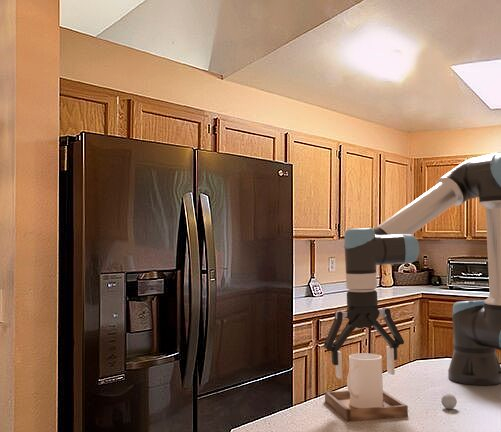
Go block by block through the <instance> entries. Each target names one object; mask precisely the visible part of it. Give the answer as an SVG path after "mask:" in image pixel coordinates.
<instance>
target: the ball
mask: <svg viewBox="0 0 501 432" xmlns="http://www.w3.org/2000/svg"><path fill="white" fill-rule="evenodd" d="M457 402H458V401H457V398H456V396H455V395H454V394H451V393H445V394H444V395H442V397H441V404H442V406H443V407H444V408H445V409H447V410H452V409H454V408H455V407H456V406H457Z"/></svg>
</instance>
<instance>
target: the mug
mask: <svg viewBox="0 0 501 432" xmlns="http://www.w3.org/2000/svg"><path fill="white" fill-rule="evenodd" d="M348 363H349V366H348V367H349V370H348V374H347V378H346V386H347V390H348V391H349V393H350V401H349V404H350V406H352V407H354V408H358V409H360V408H373V407H383V406H384V402H383V391H384V390H383V389H384V387H383V356H382V355H380V354H378V353H377V354H376V353H372V352H371V353H367V352H363V353H362V352H361V353H360V352H359V353H353V354H349V357H348Z"/></svg>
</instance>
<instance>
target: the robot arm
mask: <svg viewBox="0 0 501 432" xmlns="http://www.w3.org/2000/svg"><path fill="white" fill-rule="evenodd" d="M476 198H478V200H479V201H478V202H479V204H480V205H481V206H482V207H483V208H484V209H485V223H486V224H485V225H486V226H485V227H486V244H487V245H486V246H487V269H488V286H489V288H488V289H489V291H488V292H489V295H488V297H487V298H486V299H482V300H481V299H480V300H479V299H478V300H465V301H464V300H463V301H456V302H454V304H453V306H452V313H451V317H452V335H453V353H452V357H451V359H450V363H449V368H448V370H447V372H448V374H447V375H448V379H449V380H450V381H453V382H454V383H460V384H464V385H472V386H492V385H498V384H501V364H500V361H499V358H498V356H497V350H499V351H501V151H498V152H495V153H490V154H485V155H484V154H483V155H480V156H475V157H472V158H468V159H467V160H465V161H463V162H461V163H460V164H458V165H457V166H456V167H454V168H453V169H451V170H450V171H448V172H447V173H445V174H444V175H442V176H440V177H439V179H438V180H437V181H436V184H435V185H434V186H433V187H431V188H430V189H428V190H427V191H426V192H424V193H423V194H421V195H420V196H419V197H417V198H415V199H414V200H413V201H412V202H410V203H408V204H407V205H406V206H404V207H402V208H401V209H400V210H398V211H397V212H396V213H394V214H392V215H391V216H389V218H386V220H384V221H382V222H381V223H380V224H378V225H376V227H373V228H372V227H365V228H364V227H363V228H348V229H346V230H345V232H344V245H343V248H344V259H345V260H344V261H345V278H346V279H345V282H346V284H345V286H346V289H347V291H346V305H347V306H346V307H347V308H346V311H340V310H336V311H335V312H334V319H333V322H332V325H331V327H330V330H329V331H328V334H327V336H326V338H325V340H324V344H323V348H324V349H326V350H327V351H329V352H331V353H330V354H331V364H332V365H333V366H335V378H337V379H338V380H343V364H342V363H343V361H342V360H343V359H342V357H343V356H342V351H340V349H341V348H342V347H343V345H344V343H345V342H346V341H347V339H348V338H349V336H350V335H351V334H352V332H354V331H355V329H363V328H364V329H365V328H367V329H370V328H372V327H373V328H374V329H375V331H376V332H377V333H378V335H380V336H381V337H382V338H383V340H384V341H385V342H386V343H387V344H388V346H387V345H386V368H387V369H386V370H387V371H386V372H387V374H389V375H391V376H394V375H395V371H396V370H395V361H397V360H398V349H399V347H400V346H401V345H404V343H405V340H404V339H403V338H404V337H402V335H401V333H400V331H399V328H398V327H397V325H396V323H395V322H394V321H395V320H394V319H393V318H392V314H391V313H392V312H391V309H390V308H387V307H382V308H381V309H380V308H379V307H378V305H379V303H378V291H377V290H376V289H377V288H378V283H377V282H378V281H377V280H378V279H377V278H378V277H377V266H381V265H382V266H383V265H399V264H400V265H406V264H411V263H413V262H416V261H417V259H418V257H419V254H420V244H419V241H418V239H417V237H415V236H414V234H415V233H416V232H418V231H419V230H421V229H422V228H423V227H425V226H426V225H428V224H429V223H430V222H433V220H435V219H436V218H438V217H439V216H441V215H442V214H443V213H444V212H446V211H447V210H449V209H450V208H452V207H459V206H461V204H464V203H465V202H468V201H469V200H473V199H476ZM380 316H381V317H382V318H383V320H384V322H385V324H386V326H387V328H388V329H389V332H390V334H391V335H392V336H391V335H390V334H389V333H388V332H387V331H386V329H384V327H383V326H382V324H381V323H380V322H379V321H378V320H377V319H378V318H379V317H380ZM345 318H347V319H348V321H347V322H346V324H345V325H344V326H345V327H344V328H343V329H342V330H341V332H340V334H339V335H338V333H339V331H340V328H341V326H342V324H343V321H345ZM337 336H338V337H337ZM392 337H393V338H392Z"/></svg>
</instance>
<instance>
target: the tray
mask: <svg viewBox="0 0 501 432" xmlns="http://www.w3.org/2000/svg"><path fill="white" fill-rule="evenodd" d="M349 401H350V393H349V391H348V389H346V390H335V391H324V402H325V403H326V405H328V406H329V407H331V409H333V410H334V411H335V412H336V413H337V414H338V415H340V417H342V418H343V419H344V420H345V421H346V422H355V421H356V422H358V421H369V420H370V421H371V420H379V419H380V420H381V419H394V418H405V417H406V418H407V417H409V413H408V412H409V409H408V408H409V407H408V405H407V404H405V403H404V402H402V401H400V400H399V399H398V398H396V397H394V396H393V395H391V394H390V393H388V392H386V391H385V390H383V402H384V406H383V407H373V408H360V409H358V408H354V407H352V406H350V404H349Z"/></svg>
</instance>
